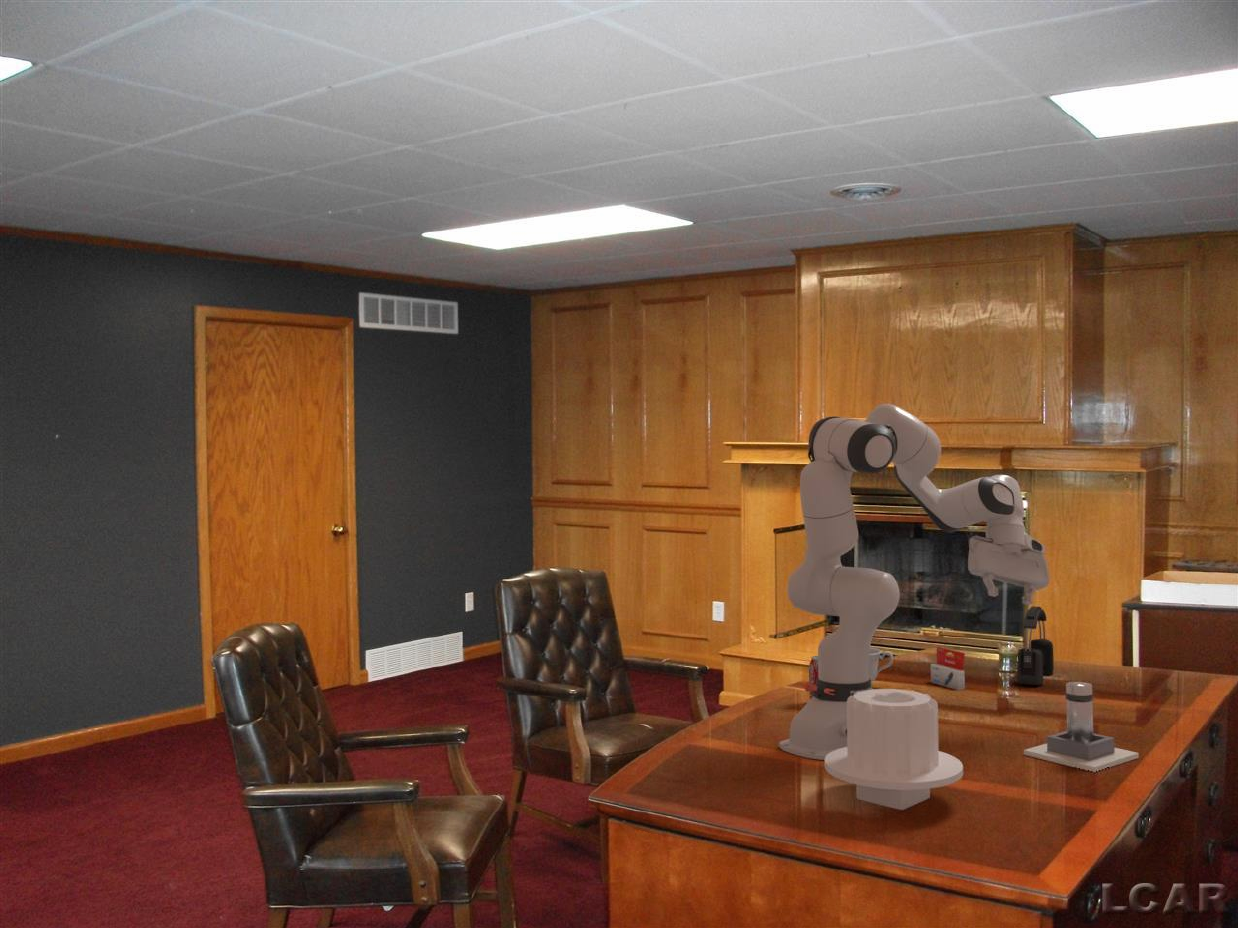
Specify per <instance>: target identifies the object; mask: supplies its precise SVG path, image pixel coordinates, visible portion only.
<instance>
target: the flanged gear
mask: <svg viewBox="0 0 1238 928" xmlns="http://www.w3.org/2000/svg"><path fill="white" fill-rule="evenodd" d="M824 769H825V771H826V772H827V773H828V774H829V775H831V777H834V778H836V779H838V780H841V781H843V782H847V783H850V784H853V785H856V786H855V787H856V792H855V793H856V799H857V800H859V801H861V802H867V803H871V804H874V805H878V806H883V807H886V808H890V809H894V810H899V811H904V810H907V809H909V808H911V807H913V806H916V805H918V804H919V803H922V802H924V801H926V800H928V799H930V798H931V789H935V788H940V787H945V786H949V785H952V784H954V783H956V782H958V781H959V780H961V779H962V778H963V775H964V765H963V763H962V761H960V759H958V758H957V757H955V756H954V755H951V754H949V753H947V752H943V751H940V750H939V705H938V703H937V701H936V699H935V698H932V696H931V695H930V694H927V693H926V694H925V693H923V692H919V691H918V692H917V691H915V690H907V689H897V688H881V689H880V688H876V689H874V688H872V690H866V691H862V692H858V691H857V692H856V693H855V694H854V695H853V696H850V697H849V698H848V699H847V747H844V748H840V749H837V750H834V751H832V752H830V753H829V754H827V755H826V757H825V760H824Z"/></svg>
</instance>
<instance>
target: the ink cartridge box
mask: <svg viewBox="0 0 1238 928" xmlns="http://www.w3.org/2000/svg"><path fill="white" fill-rule="evenodd" d="M949 653H951V654H952V655H953V656H954V657H953V656H949V655H947V654H949ZM965 654H966V653H965V652H961V651H959V650H953V649H948V648H945V647H940V646H936V663H930V683H932V684H936V685H939V686H942V687H945V688H948V689H949V688H950V689H954V690H956V691H961V690H965V688H966V685H965V683H966V682H965V681H966V679H965V657H966V656H965Z"/></svg>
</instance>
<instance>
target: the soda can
mask: <svg viewBox="0 0 1238 928" xmlns="http://www.w3.org/2000/svg"><path fill="white" fill-rule="evenodd" d="M810 658H811V660H810V662H809V664H808V682H809V683H814V684H815V683H816V680H817V678H818V655H814V656H811V657H810ZM808 694H809V701H810V700H811V698H812V697H813V692H809V693H808Z"/></svg>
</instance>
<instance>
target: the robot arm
mask: <svg viewBox="0 0 1238 928" xmlns="http://www.w3.org/2000/svg"><path fill="white" fill-rule="evenodd" d="M941 453H942V444H941V440H940V437H939V436H938V435H937V433H936V432H935V431H934V430H933V429H932V428H931V427H929V426H928V425H927V424H926V423H925V422H923V421H922V420H921V419H919V418H918V417H916V416H915V415H914V414H911V412H908V411H907V410H905V409H903V408H901V407H899V406H897V405H894V404H892V403H883V404H880V405H878V406H876V407H874V408H873V409H872V410H871V411H870V412H869V413H868V415H867V416H866V418H865V420H864V421H862V420H859V419H856V418H852V417H840V416H836V415H835V416H827V417H824V418H821V419H819V420H818V421H817V422H815V424H814V425H813V426H812V427H811V430H810V432H809V437H808V451H807V456H808V459H809V461H810V462H809V463H808V464H806V465H805V466H804V467H803V468H802V469H801V472H800V476H799V479H800V480H799V494H800V495H799V496H800V505H801V507H800V508H801V512H802V516H803V517H802V518H803V524H804V525H803V526H804V530H805V539H806V548H805V550H806V551H805V556H804V558H803V559H802V562H801V564H800V565H799V566H798V567H796V568H795V569H794V570H793V572H792V573H791V575H790V576H789V579H788V582H787V588H786V589H787V596H788V599H789V601H790V603H791V604H792V606H793V607H794V608H795V609H798V610H801V611H803V612H807V613H811V614H812V615H813V614H814V615H822V616H823V615H824V616H834V617H839V624H838V628H837V630H835V631H833V632H832V633H829V634H827V635H826V636H824V637H823V638H822V639H821V641H820V642H819V644H818V646H817V656H818V678H817V680H816V683H815V684H814V683H809V681H807V682H805V683H804V685H803V689H804V690H805V692H807V693H808V692H813V697H812V698H811V700H810V699H809V700H808V702H807V703H806V704H805V705H804V706H803V707H802V709H801V710H800V711H799V712H798V713H797V714H796V715H795V716H793V718H792V720H791V723H790V728H789V738H787V739H783V740H782V741H779V743H778V747H779V749H781V750H782V751H784V752H786V753H789V754H791V755H792V754H793V755H795V756H799V757H803V758H807V759H811V760H812V759H814V760H821V761H822V760H824V761H825V757H826V755H827V754H829V753H830V752H832V751H834V750H837V749H840V748H844V747H847V699H848V698H849V697H850V696H853V695H854V694H855V693H856V692H857V691H858V692H862V691H866V690H872V689H873V686H872V682H871V679H870V678H869V656H870V647H871V644H872V640H873V637H874V634H875V633H876V631H877V629H878V627H879V626H880V625H881V623H882V622H883V621H885V620H886V619H888V617H890V616H891V615H892V614H893V613H894V612H895V611H896V609H897V607H898V605H899V602H900V596H901V595H900V592H901V591H900V588H899V587H900V586H899V585H898V581H897V580H896V579H895V578H894V576H893V575H892V574H891V573H889V572H885V571H882V570H878V569H874V568H869V567H856V566H855V567H853V566H843V564H842V562H841V561H842V560H841V556H843V555H845V554H846V553H848V552H849V551H851V550H852V549H853V548H854V547H856V545H857V542H858V539H859V531H858V530H859V529H858V524H857V519H856V518H857V517H856V512H855V506H854V501H853V495H852V493H851V481H852V476H853V473H859V474H862V475H873V474H878V473H880V472H882V471H884V470H885V469H886V468H887V467H889V466H890V464H891V463H892V464H893V472H894V476H895V478H896V480H897V481H898V483H899V484H900V485H901V486H902V488H904V490H905V491H906V492H907V493H908V494H909V495H910V496H911V497H912V499H913V500H914V501H915V502H916V503H917V504H918V505H919V506H920V507H921V509H923V510H924V512H925V513H926V514H927V516H928V517H929V519H930V521H931V522H932V523H933V524H934V525H935V527H936V528H938V529H939V530H940V531H941V530H942V532H943V531H944V532H945V533H949V534H950V533H951V534H953V533H954V532H956V531H960V530H962V529H964V528H966V527H969V526H973V525H975V524H979V523H982V522H984V523H986V527H985V537H984V536H983V537H982V536H980V535H977V534H976V535H974V536H971V537H970V538H969V540H968V548H969V551H968V557H967V558H968V559H967V569H968V571H969V573H970V574H971V575H974V576H979V577H982V582H983V584H984V585H985V587H986V589H987V594H988V596H990V597H997V596H998V595H999V587H997V586H995V583H994V581H993V580H995V581H999V582H1004V583H1007V584H1011V585H1014V586H1019V587H1024V591H1025V592H1026V593H1025V595H1023V596H1021V599H1022V604H1024V605H1027V606H1029V605H1032V604H1033V603H1034V601H1033V600H1034V597H1033V596H1034V594H1035V592H1036V591H1038V590H1039V591H1040V590H1042V589H1044V588H1047V587H1048V585H1049V584H1050V573H1049V572H1050V571H1049V565H1048V561H1047V558H1046V557H1045V556H1044V555H1043V554H1045V553H1046V546H1045V545H1044V544H1042V543H1041V542H1040V541H1038V540H1036V539H1035V538H1033V537H1032V536H1031V535H1030V534H1028V533H1026V531H1027V530H1026V527H1025V525H1024V516H1025V510H1024V502H1023V501H1024V500H1023V495H1022V491H1021V488H1020V485H1019V482H1018V481H1017V480H1016V479H1015V478H1013V477H1012V476H1010V475H1006V474H994V475H992V476H981V477H979V478H976V479H973V480H969V481H967V482H964V483H962V484H959V485H956V486H953V487H951V488H944V489H943V488H941V489H940V488H937V486H936V485H935V484H934V483H933V482H932V481H931V480H930V479H929V478H928V477H927V476H928V475H929V474H930V473H932V471H934V469H935V468H936V466H937V465H938V463H939V460H940V458H941Z"/></svg>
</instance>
